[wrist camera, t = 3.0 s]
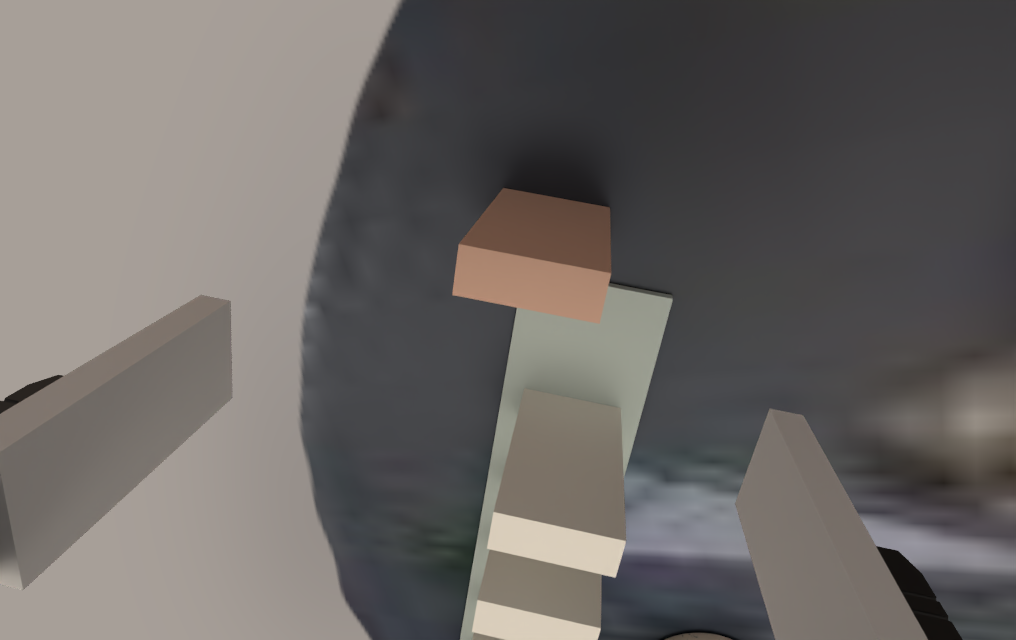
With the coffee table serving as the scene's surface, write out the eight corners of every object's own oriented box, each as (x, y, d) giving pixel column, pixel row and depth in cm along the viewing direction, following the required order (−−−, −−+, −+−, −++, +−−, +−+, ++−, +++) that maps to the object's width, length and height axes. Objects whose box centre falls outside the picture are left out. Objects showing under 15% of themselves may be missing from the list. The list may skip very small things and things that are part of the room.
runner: (524, 266, 35) (523, 270, 34) (671, 295, 34) (672, 299, 34) (457, 655, 47) (455, 662, 46) (566, 681, 46) (565, 689, 46)
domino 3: (510, 459, 39) (477, 600, 29) (602, 479, 39) (600, 628, 29) (505, 486, 40) (471, 631, 30) (595, 505, 39) (591, 660, 29)
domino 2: (524, 388, 37) (493, 512, 27) (620, 408, 37) (626, 541, 27) (518, 417, 38) (486, 548, 28) (613, 437, 37) (615, 577, 27)
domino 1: (503, 187, 34) (458, 244, 23) (609, 207, 33) (611, 273, 23) (497, 224, 34) (452, 294, 24) (601, 244, 34) (599, 323, 24)
